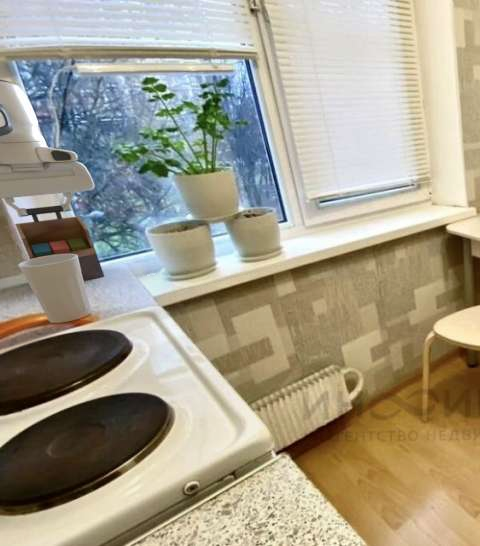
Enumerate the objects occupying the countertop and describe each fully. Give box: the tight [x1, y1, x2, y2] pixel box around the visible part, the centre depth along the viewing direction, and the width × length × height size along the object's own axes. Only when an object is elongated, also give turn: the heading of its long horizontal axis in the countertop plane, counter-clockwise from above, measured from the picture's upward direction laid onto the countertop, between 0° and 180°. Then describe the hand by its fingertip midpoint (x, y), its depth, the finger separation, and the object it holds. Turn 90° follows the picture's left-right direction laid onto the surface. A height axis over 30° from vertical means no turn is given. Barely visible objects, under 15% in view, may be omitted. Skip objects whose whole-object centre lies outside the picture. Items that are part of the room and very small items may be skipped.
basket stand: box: [28, 253, 105, 282], centre depth 105 cm, size 11×10×6 cm
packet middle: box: [49, 240, 71, 254], centre depth 103 cm, size 3×5×1 cm, turn 51°
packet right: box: [67, 238, 88, 251], centre depth 105 cm, size 3×5×1 cm, turn 51°
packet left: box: [31, 243, 53, 257], centre depth 101 cm, size 3×5×1 cm, turn 51°
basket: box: [14, 204, 97, 260], centre depth 102 cm, size 11×10×10 cm
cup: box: [17, 254, 93, 324], centre depth 83 cm, size 8×8×12 cm
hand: (46, 213), depth 102 cm, fingers closed on basket, 6 cm apart
